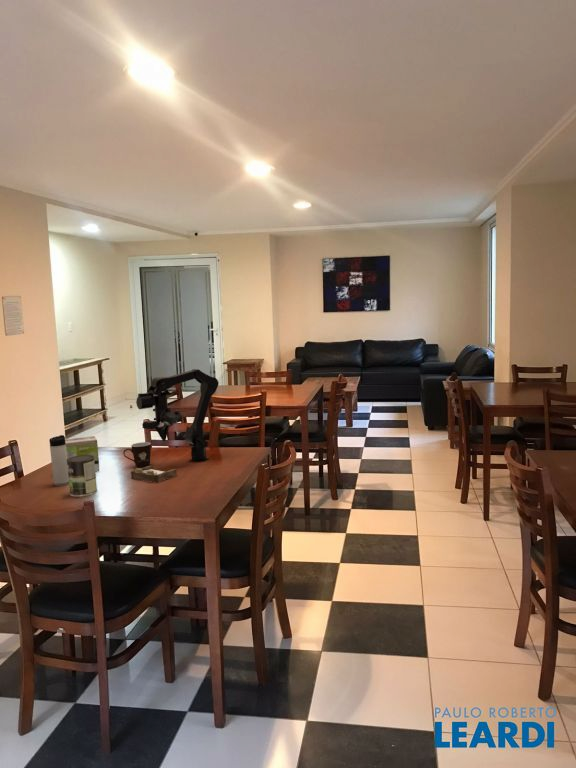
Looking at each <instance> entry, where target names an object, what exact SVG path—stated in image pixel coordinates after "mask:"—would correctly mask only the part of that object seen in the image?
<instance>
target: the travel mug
mask: <svg viewBox="0 0 576 768" xmlns="http://www.w3.org/2000/svg"><path fill="white" fill-rule="evenodd" d="M65 439H66V436H65V435H63V434H60V435H58V436H57V435H56V436H53V437H51V438H49V450H50V451H49V453H50V458H51V468H52V469H51V470H52V478H53V485H54V486H56V487H61V486H66V485H69V475H68V466H67V450H66V442H65Z"/></svg>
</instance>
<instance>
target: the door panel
mask: <svg viewBox="0 0 576 768" xmlns="http://www.w3.org/2000/svg"><path fill="white" fill-rule="evenodd" d="M150 470H152V471H154V474H155V475H157V474H160V473H163V472H164V471H162V470H157V469H154V468H153V469H150ZM147 471H149V470H147ZM142 472H143V473H146V470H144V471H142Z"/></svg>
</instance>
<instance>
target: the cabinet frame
mask: <svg viewBox="0 0 576 768" xmlns="http://www.w3.org/2000/svg"><path fill="white" fill-rule="evenodd" d="M150 469H153V470H154V465H152V464H150V466H147V467H144V468H135V469H134V470H131V471H130V475H131V479H132V478H134V479H133V480H137V479H139V480H138V481H143V480H144V481H143V482H148V481H152V482H151V483H154V482H159V481H161V482H163V481H162V480H164V479H167V478H170V479H172V478H171V477H173V478H175V477H177V475H178V473H177V468H173V469H169V470H166V471H163V473H160V474H157V475H155V474H154V471H152V470H150ZM144 470H146V473H143V472H142V471H144ZM147 470H149V471H147ZM174 476H175V477H174ZM167 480H168V479H167ZM164 481H165V480H164ZM159 483H160V482H159Z"/></svg>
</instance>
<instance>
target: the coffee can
mask: <svg viewBox="0 0 576 768" xmlns="http://www.w3.org/2000/svg"><path fill="white" fill-rule="evenodd" d="M67 466H68V475H69V484H68V485H69V494H70V496H71V497H74V498H76V497H77V498H81V497H82V498H83V497H88V496H92V495H94V494H96V493H98V487H97V477H96V475H97V474H96V472H95V463H94V456H93V455H79V456H74V457H70V458H68V459H67Z"/></svg>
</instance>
